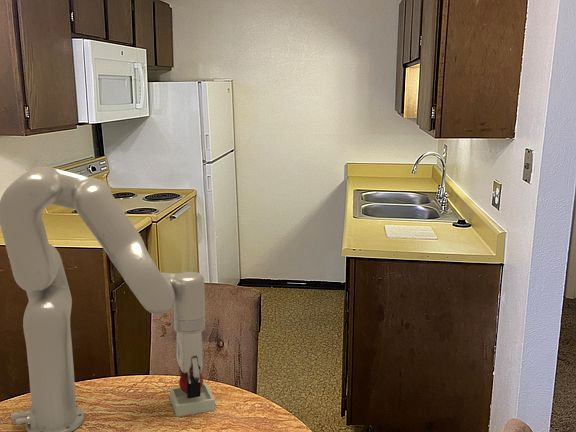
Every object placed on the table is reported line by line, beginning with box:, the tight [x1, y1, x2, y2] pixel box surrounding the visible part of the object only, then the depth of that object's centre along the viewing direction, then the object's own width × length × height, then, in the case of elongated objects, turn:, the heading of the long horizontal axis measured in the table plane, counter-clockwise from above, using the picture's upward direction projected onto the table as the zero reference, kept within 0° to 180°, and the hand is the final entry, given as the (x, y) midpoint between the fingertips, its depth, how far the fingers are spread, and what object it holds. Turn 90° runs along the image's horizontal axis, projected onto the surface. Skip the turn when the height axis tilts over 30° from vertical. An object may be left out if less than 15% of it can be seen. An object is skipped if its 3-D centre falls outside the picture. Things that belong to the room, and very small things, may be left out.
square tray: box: [169, 382, 216, 418], centre depth 142 cm, size 10×10×3 cm
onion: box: [178, 368, 204, 394], centre depth 141 cm, size 6×6×8 cm
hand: (191, 390), depth 142 cm, fingers closed on onion, 5 cm apart
